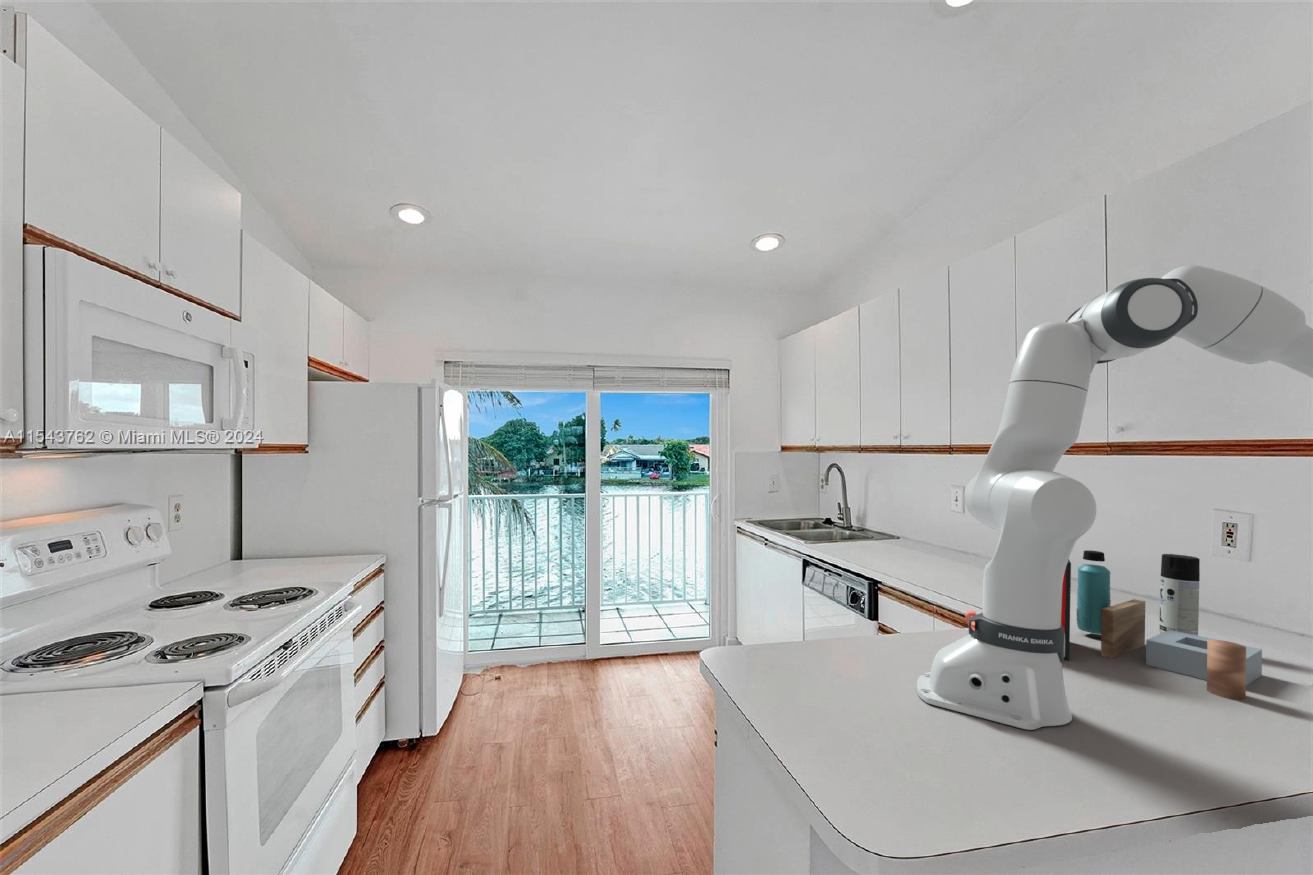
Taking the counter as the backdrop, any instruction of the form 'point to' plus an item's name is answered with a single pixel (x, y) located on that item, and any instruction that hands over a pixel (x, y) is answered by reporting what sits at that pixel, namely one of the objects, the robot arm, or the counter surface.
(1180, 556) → the spray can
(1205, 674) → the square socket block
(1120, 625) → the backstop board
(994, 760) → the counter surface
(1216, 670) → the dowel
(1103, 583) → the beverage bottle
